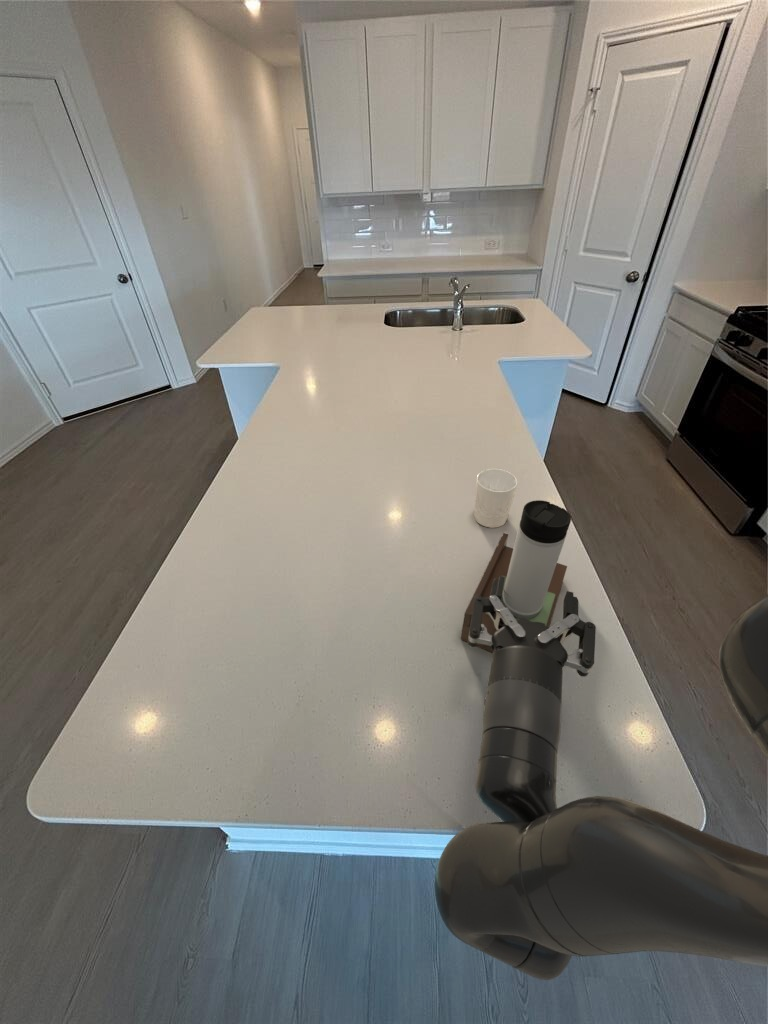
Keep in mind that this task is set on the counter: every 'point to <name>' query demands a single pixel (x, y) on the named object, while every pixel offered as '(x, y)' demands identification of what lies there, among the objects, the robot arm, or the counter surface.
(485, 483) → the white cup
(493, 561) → the wooden coaster base
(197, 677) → the counter surface
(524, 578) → the travel mug
